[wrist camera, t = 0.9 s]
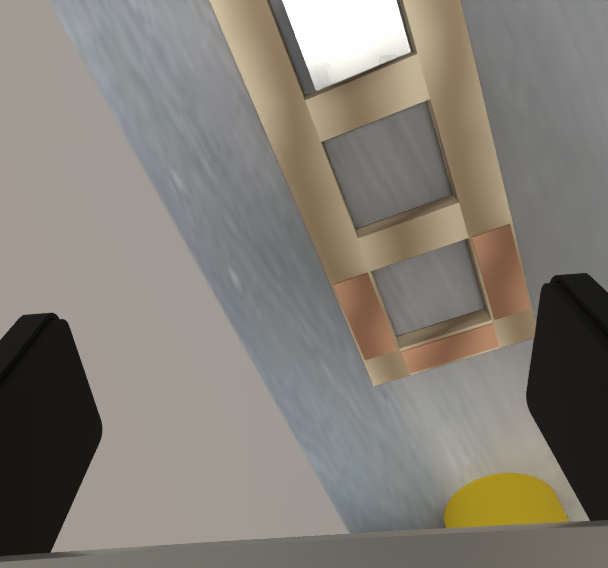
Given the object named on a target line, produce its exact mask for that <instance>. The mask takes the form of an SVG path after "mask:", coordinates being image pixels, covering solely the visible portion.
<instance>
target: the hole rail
mask: <svg viewBox="0 0 608 568" xmlns="http://www.w3.org/2000/svg"><path fill="white" fill-rule="evenodd" d="M210 3H211V5H212V7H213V10H214V12H215V14H216V17H217V19H218V21H219V24H220V26H221V28H222V31H223V33H224V35H225V38H226V40H227V43H228V45H229V47H230V50H231V52H232V54H233V57H234V59H235V61H236V64H237V66H238V68H239V71H240V73H241V75H242V78H243V80H244V82H245V85H246V87H247V90H248V92H249V94H250V97H251V99H252V101H253V104H254V106H255V108H256V111H257V113H258V115H259V118H260V120H261V122H262V125H263V127H264V129H265V132H266V134H267V137H268V139H269V141H270V144H271V146H272V148H273V151H274V153H275V155H276V158H277V160H278V162H279V165H280V167H281V169H282V172H283V174H284V177H285V179H286V181H287V184H288V186H289V188H290V191H291V193H292V195H293V198H294V200H295V202H296V205H297V207H298V209H299V212H300V214H301V216H302V219H303V221H304V224H305V226H306V228H307V231H308V233H309V235H310V238H311V240H312V242H313V245H314V247H315V249H316V252H317V254H318V256H319V259H320V261H321V263H322V266H323V268H324V271H325V273H326V275H327V278H328V280H329V282H330V285H331V287H332V289H333V292H334V294H335V296H336V299H337V301H338V303H339V306H340V308H341V310H342V313H343V315H344V318H345V320H346V322H347V325H348V327H349V329H350V332H351V334H352V336H353V339H354V341H355V343H356V346H357V348H358V350H359V353H360V355H361V358H362V360H363V362H364V365H365V367H366V369H367V372H368V374H369V376H370V379H371V381H372V383H373V386H376V385H380V384H383V383H386V382H389V381H393V380H396V379H399V378H403V377H406V376H409V375H413V374H416V373H419V372H423V371H426V370H429V369H433V368H436V367H439V366H442V365H446V364H449V363H452V362H456V361H459V360H462V359H466V358H469V357H472V356H476V355H479V354H482V353H485V352H489V351H492V350H495V349H499V348H502V347H505V346H509V345H512V344H515V343H519V342H522V341H525V340H529V339H532V338H534V336H535V329H536V321H535V317H534V312H533V308H532V304H531V299H530V295H529V291H528V287H527V282H526V278H525V274H524V270H523V265H522V261H521V257H520V253H519V248H518V244H517V240H516V235H515V231H514V227H513V223H512V218H511V214H510V210H509V206H508V201H507V197H506V193H505V188H504V184H503V180H502V176H501V171H500V167H499V163H498V159H497V154H496V150H495V146H494V141H493V137H492V133H491V129H490V124H489V120H488V116H487V112H486V107H485V103H484V99H483V95H482V90H481V86H480V82H479V77H478V73H477V69H476V65H475V60H474V56H473V52H472V48H471V43H470V39H469V35H468V30H467V26H466V22H465V18H464V13H463V9H462V5H461V1H460V0H399V3H400V7H401V11H402V14H403V18H404V21H405V25H406V28H407V32H408V35H409V39H410V43H411V46H412V50H413V51H412V52H410V53H408V54H405V55H403V56H400V57H398V58H396V59H393V60H391V61H388V62H386V63H384V64H381V65H379V66H376V67H374V68H372V69H369V70H367V71H364V72H362V73H360V74H357V75H355V76H352V77H350V78H347V79H345V80H343V81H340V82H338V83H335V84H333V85H331V86H328V87H326V88H323V89H321V90H319V91H316V92H314V93H311V94H309V95H307V96H305V94H304V91H303V89H302V86H301V83H300V81H299V78H298V76H297V73H296V70H295V68H294V65H293V62H292V60H291V57H290V54H289V52H288V49H287V47H286V44H285V41H284V39H283V36H282V33H281V31H280V28H279V26H278V23H277V20H276V18H275V15H274V12H273V10H272V7H271V4H270V2H269V0H210ZM426 100H427V103H428V107H429V110H430V114H431V117H432V121H433V124H434V128H435V131H436V135H437V139H438V142H439V146H440V149H441V153H442V156H443V160H444V163H445V167H446V170H447V174H448V178H449V181H450V185H451V188H452V192H453V195H451V196H448V197H445V198H443V199H440V200H437V201H434V202H431V203H429V204H426V205H423V206H420V207H418V208H415V209H412V210H409V211H406V212H404V213H401V214H398V215H395V216H393V217H390V218H387V219H384V220H381V221H379V222H376V223H373V224H370V225H368V226H365V227H362V228H359V229H356V228H355V225H354V223H353V220H352V218H351V215H350V212H349V210H348V207H347V204H346V202H345V199H344V197H343V194H342V191H341V189H340V186H339V183H338V181H337V178H336V175H335V173H334V170H333V168H332V165H331V162H330V160H329V157H328V154H327V152H326V149H325V147H324V144H323V141H325V140H328V139H331V138H333V137H336V136H338V135H341V134H343V133H346V132H348V131H351V130H353V129H356V128H358V127H361V126H363V125H366V124H368V123H371V122H373V121H376V120H379V119H381V118H384V117H386V116H389V115H391V114H394V113H396V112H399V111H401V110H404V109H406V108H409V107H411V106H414V105H416V104H419V103H421V102H424V101H426ZM464 239H466V242H467V245H468V249H469V252H470V256H471V259H472V263H473V266H474V270H475V274H476V277H477V281H478V284H479V288H480V291H481V295H482V298H483V302H484V306H485V309H483V310H480V311H477V312H473V313H470V314H467V315H464V316H461V317H458V318H454V319H451V320H448V321H445V322H442V323H439V324H436V325H432V326H429V327H426V328H423V329H420V330H417V331H413V332H410V333H407V334H404V335H401V336H398V337H397V336H396V333H395V331H394V328H393V325H392V323H391V320H390V318H389V315H388V312H387V310H386V307H385V304H384V302H383V299H382V296H381V294H380V291H379V289H378V286H377V283H376V281H375V278H374V275H373V273H372V271H374V270H377V269H380V268H383V267H386V266H388V265H391V264H394V263H397V262H400V261H403V260H406V259H409V258H412V257H415V256H418V255H420V254H423V253H426V252H429V251H432V250H435V249H438V248H441V247H444V246H447V245H450V244H453V243H455V242H458V241H461V240H464Z"/></svg>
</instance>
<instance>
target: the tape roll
mask: <svg viewBox="0 0 608 568" xmlns="http://www.w3.org/2000/svg"><path fill="white" fill-rule="evenodd" d="M553 522H569V520H568V518H567V516H566V514H565V512H564V510H563V508H562V506H561V504H560V502H559V500H558V498H557V496H556V494H555V492H554V491H553V489H552V488H551V487H550V486H549V485H548V484H546V483H545V482H543V481H542V480H540V479H538V478H535V477H532V476H529V475H524V474H517V473H503V474H495V475H490V476H486V477H483V478H480V479H478V480H475V481H473V482H471V483H469V484H467V485H466V486H464V487H463V488H461V489H460V490H459V491H458V492H457V493H456V494H455V495H454V496H453V497H452V498H451V499H450V501H449V502H448V504H447V506H446V509H445V512H444V523H445V527H446V528H460V527H479V526H497V525H515V524H533V523H553Z"/></svg>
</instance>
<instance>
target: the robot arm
mask: <svg viewBox="0 0 608 568" xmlns="http://www.w3.org/2000/svg"><path fill="white" fill-rule="evenodd" d="M526 399H527V405H528V408H529V411H530V413H531V415H532V416H533V418H534V420H535V422H536V424H537V426H538V427H539V429H540V431H541V433H542V435H543V436H544V438H545V440H546V442H547V444H548V445H549V447H550V449H551V451H552V453H553V454H554V456H555V458H556V460H557V462H558V463H559V465H560V467H561V469H562V471H563V472H564V474H565V476H566V478H567V480H568V482H569V483H570V485H571V487H572V489H573V491H574V492H575V494H576V496H577V498H578V500H579V501H580V503H581V505H582V507H583V509H584V510H585V512H586V514H587V516H588V518H589V519H590V521H579V522H553V523H533V524H515V525H497V526H479V527H460V528H442V529H424V530H405V531H387V532H371V533H354V534H337V535H320V536H303V537H287V538H270V539H255V540H238V541H222V542H206V543H190V544H175V545H160V546H144V547H130V548H115V549H101V550H100V549H99V550H84V551H70V552H54V553H50V552H51V550H52V548H53V546H54V543H55V541H56V539H57V537H58V534H59V532H60V530H61V528H62V525H63V523H64V521H65V519H66V516H67V514H68V512H69V510H70V508H71V505H72V503H73V501H74V498H75V496H76V494H77V492H78V490H79V487H80V485H81V483H82V481H83V478H84V476H85V474H86V472H87V469H88V467H89V465H90V463H91V460H92V458H93V456H94V454H95V452H96V449H97V447H98V445H99V443H100V440H101V437H102V422H101V419H100V416H99V413H98V410H97V407H96V404H95V401H94V398H93V395H92V392H91V389H90V386H89V383H88V380H87V377H86V374H85V371H84V369H83V365H82V362H81V359H80V356H79V353H78V350H77V348H76V345H75V342H74V339H73V336H72V333H71V330H70V327H69V325H68V322H67V321H66V320H64V319H59V317H58V316H57V315H56V314H54V313H42V314H30V315H23V316H22V317H20V318H19V319H18V320H17V321H16V322H15V324H14V325H13V326H12V327H11V328H10V330H9V331H8V332H7V333H6V334H5V335H4V336H3V338H2V339H1V340H0V568H608V293H607V292H606V291H605V290H604V289H603V288H602V287H601V286H600V285H599V284H598V283H597V282H596V281H595V280H594V279H593V278H592V277H591V276H590V275H588V274H587V273H580V274H567V275H555V276H554V277H552V279H551V281H550V283H545V284H544V285H543V286H542V289H541V294H540V301H539V308H538V315H537V322H536V329H535V336H534V343H533V350H532V357H531V363H530V370H529V377H528V384H527V391H526Z"/></svg>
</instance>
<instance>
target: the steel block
mask: <svg viewBox="0 0 608 568" xmlns="http://www.w3.org/2000/svg"><path fill="white" fill-rule="evenodd" d="M283 3H284V6H285V8H286V11H287V14H288V17H289V19H290V22H291V25H292V27H293V30H294V33H295V35H296V38H297V41H298V44H299V46H300V49H301V52H302V54H303V57H304V60H305V62H306V65H307V68H308V71H309V73H310V76H311V79H312V81H313V84H314V87H315V90H316V91H318V90H320V89H322V88H325V87H327V86H330V85H332V84H335V83H337V82H339V81H342V80H344V79H347V78H349V77H351V76H354V75H356V74H359V73H361V72H363V71H366V70H368V69H371V68H373V67H375V66H378V65H380V64H383V63H385V62H387V61H390V60H392V59H395V58H397V57H400V56H402V55H404V54H407V53H409V52H411V51H410V47H409V44H408V40H407V37H406V33H405V30H404V26H403V22H402V19H401V15H400V12H399V8H398V5H397V1H396V0H283Z"/></svg>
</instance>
